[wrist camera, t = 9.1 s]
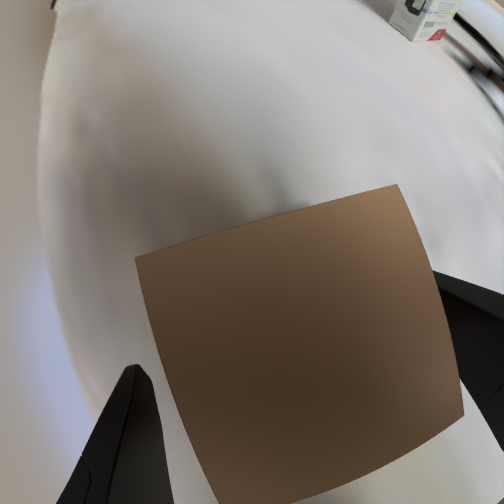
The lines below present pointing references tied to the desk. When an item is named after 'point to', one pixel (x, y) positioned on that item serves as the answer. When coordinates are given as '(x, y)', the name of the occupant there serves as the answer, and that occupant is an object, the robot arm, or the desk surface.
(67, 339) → the desk surface
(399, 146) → the desk surface
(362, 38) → the desk surface
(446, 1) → the ink box
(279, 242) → the walnut block
